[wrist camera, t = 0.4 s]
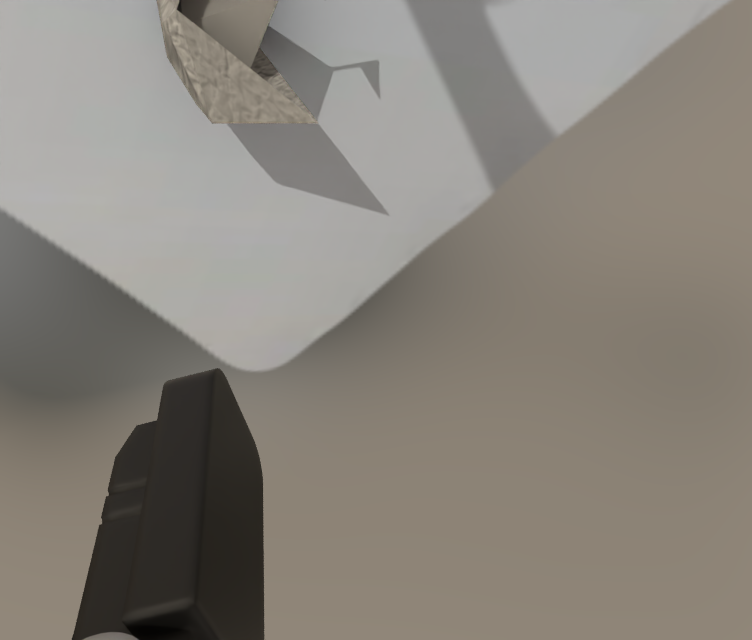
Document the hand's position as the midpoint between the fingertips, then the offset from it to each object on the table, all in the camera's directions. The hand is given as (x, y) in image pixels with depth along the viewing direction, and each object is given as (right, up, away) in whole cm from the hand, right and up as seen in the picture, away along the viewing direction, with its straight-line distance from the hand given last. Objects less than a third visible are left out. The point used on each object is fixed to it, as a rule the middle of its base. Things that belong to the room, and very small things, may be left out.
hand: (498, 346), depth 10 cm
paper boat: (-8, +16, +23) cm, 29 cm away
